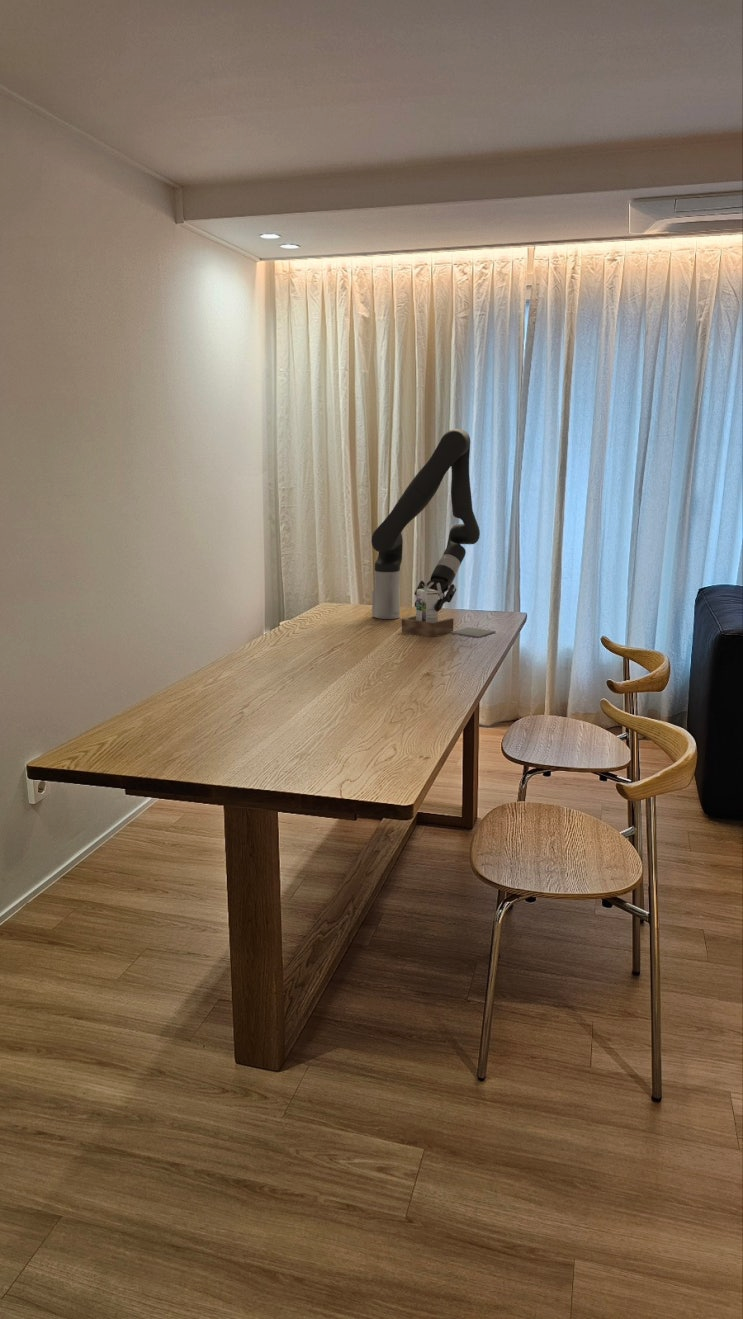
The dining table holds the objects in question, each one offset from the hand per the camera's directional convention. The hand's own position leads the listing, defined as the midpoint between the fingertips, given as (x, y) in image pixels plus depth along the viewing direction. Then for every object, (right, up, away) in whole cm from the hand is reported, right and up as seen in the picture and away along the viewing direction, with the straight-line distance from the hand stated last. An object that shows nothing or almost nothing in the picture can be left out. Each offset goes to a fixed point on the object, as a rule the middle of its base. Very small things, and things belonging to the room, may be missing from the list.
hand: (426, 608), depth 312 cm
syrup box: (0, -8, +2) cm, 8 cm away
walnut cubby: (+1, -8, +3) cm, 8 cm away
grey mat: (+16, -8, 0) cm, 18 cm away
